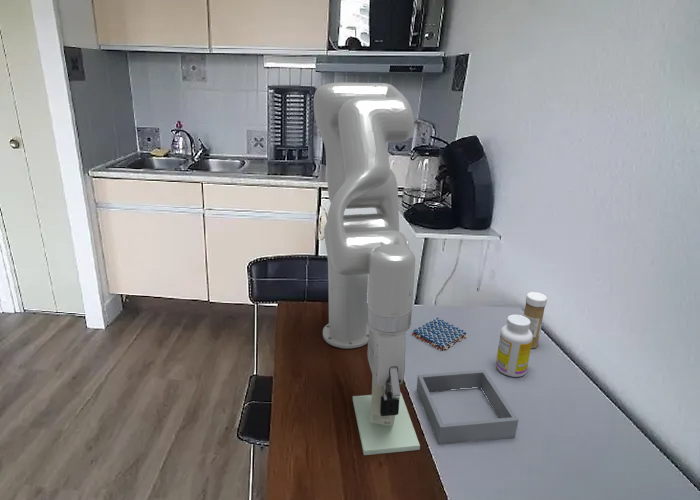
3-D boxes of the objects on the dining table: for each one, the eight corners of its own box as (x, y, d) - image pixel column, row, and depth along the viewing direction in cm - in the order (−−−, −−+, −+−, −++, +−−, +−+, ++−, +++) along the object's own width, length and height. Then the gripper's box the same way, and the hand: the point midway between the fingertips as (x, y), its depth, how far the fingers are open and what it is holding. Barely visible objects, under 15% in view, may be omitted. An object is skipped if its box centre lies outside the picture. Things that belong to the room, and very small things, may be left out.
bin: (416, 390, 92) (417, 375, 91) (482, 385, 94) (484, 369, 93) (438, 444, 79) (440, 427, 77) (515, 437, 81) (518, 420, 79)
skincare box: (393, 427, 80) (397, 371, 75) (369, 423, 80) (371, 368, 76) (397, 402, 85) (400, 350, 81) (375, 399, 86) (377, 347, 82)
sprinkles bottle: (541, 345, 108) (551, 296, 103) (530, 351, 106) (540, 302, 101) (525, 336, 112) (533, 289, 107) (514, 342, 109) (522, 294, 104)
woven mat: (409, 336, 112) (409, 329, 112) (435, 322, 119) (436, 315, 118) (442, 354, 105) (442, 347, 104) (468, 338, 112) (468, 331, 111)
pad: (352, 400, 89) (352, 396, 89) (400, 396, 91) (400, 392, 90) (363, 455, 76) (363, 450, 76) (419, 449, 78) (419, 445, 77)
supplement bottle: (527, 364, 101) (536, 316, 96) (525, 381, 95) (535, 330, 91) (497, 357, 104) (505, 309, 99) (493, 373, 98) (501, 323, 93)
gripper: (359, 293, 82) (357, 371, 89) (377, 347, 67) (373, 437, 73) (398, 291, 83) (393, 368, 90) (425, 343, 67) (416, 432, 74)
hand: (384, 398), depth 82 cm, fingers closed on skincare box, 7 cm apart
